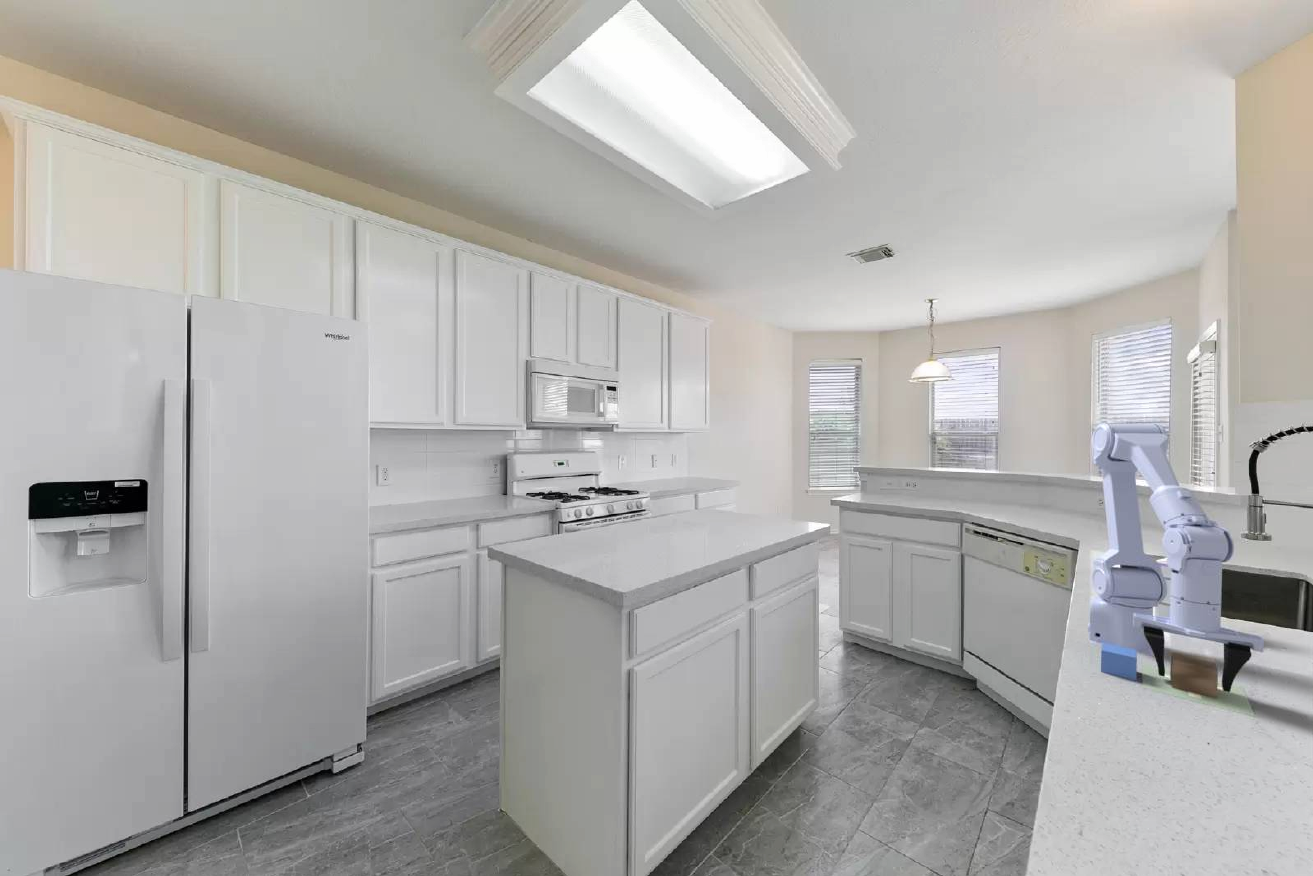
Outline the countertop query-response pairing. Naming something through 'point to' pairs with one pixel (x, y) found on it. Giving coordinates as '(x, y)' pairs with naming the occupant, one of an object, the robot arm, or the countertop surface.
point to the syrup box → (1164, 606)
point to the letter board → (1224, 700)
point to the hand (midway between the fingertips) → (1192, 681)
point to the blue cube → (1119, 661)
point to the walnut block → (1194, 674)
